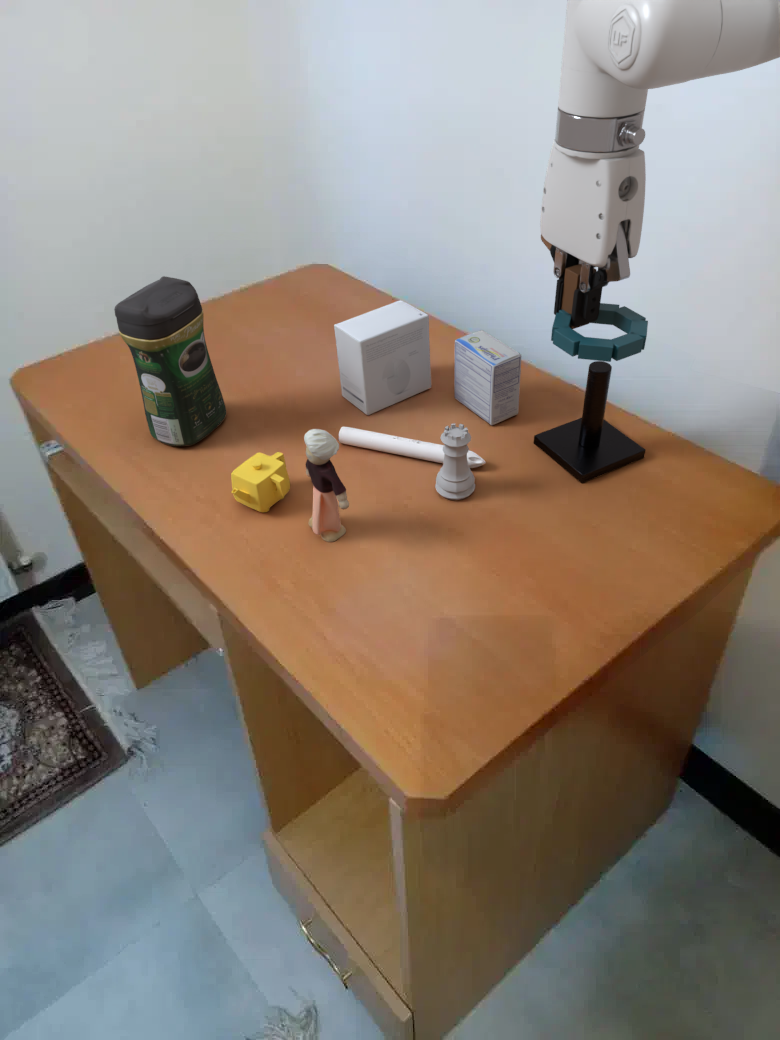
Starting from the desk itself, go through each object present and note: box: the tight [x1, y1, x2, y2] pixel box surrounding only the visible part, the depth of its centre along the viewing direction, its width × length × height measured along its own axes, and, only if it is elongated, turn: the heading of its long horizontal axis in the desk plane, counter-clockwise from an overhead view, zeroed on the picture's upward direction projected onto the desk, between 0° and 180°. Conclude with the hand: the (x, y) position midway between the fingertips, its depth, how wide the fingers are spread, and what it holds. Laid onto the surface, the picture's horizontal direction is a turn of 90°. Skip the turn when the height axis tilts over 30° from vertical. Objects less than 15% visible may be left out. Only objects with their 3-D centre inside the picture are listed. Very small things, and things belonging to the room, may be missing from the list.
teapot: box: [230, 451, 291, 513], centre depth 86 cm, size 8×6×5 cm
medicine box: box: [453, 329, 522, 426], centre depth 97 cm, size 8×4×9 cm, turn 32°
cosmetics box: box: [333, 299, 432, 416], centre depth 101 cm, size 10×6×10 cm, turn 125°
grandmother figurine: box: [303, 428, 350, 543], centre depth 80 cm, size 8×4×13 cm, turn 45°
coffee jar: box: [113, 275, 227, 447], centre depth 94 cm, size 10×8×19 cm
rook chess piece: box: [434, 422, 476, 501], centre depth 85 cm, size 4×4×8 cm
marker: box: [338, 425, 487, 469], centre depth 92 cm, size 18×2×2 cm, turn 68°
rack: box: [533, 360, 646, 484], centre depth 89 cm, size 9×9×11 cm
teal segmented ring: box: [550, 264, 649, 363], centre depth 79 cm, size 9×9×6 cm
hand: (575, 316), depth 83 cm, fingers closed on teal segmented ring
